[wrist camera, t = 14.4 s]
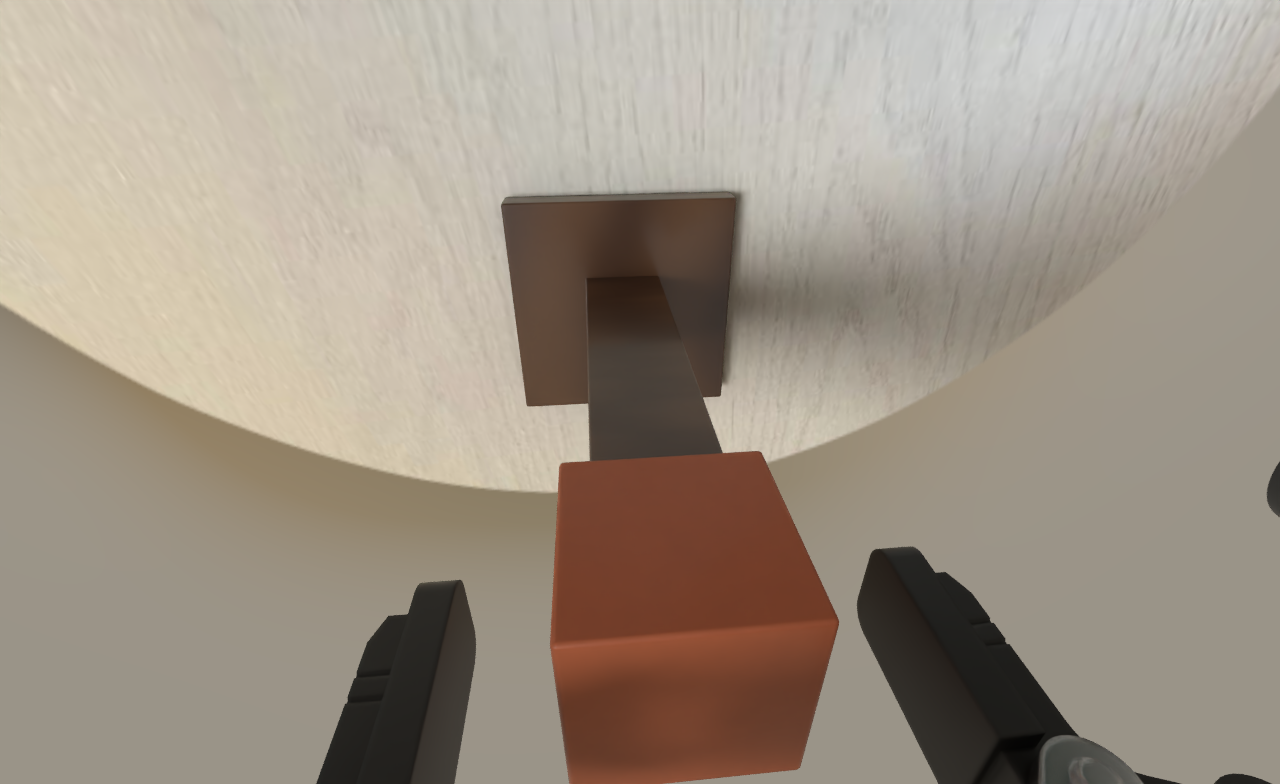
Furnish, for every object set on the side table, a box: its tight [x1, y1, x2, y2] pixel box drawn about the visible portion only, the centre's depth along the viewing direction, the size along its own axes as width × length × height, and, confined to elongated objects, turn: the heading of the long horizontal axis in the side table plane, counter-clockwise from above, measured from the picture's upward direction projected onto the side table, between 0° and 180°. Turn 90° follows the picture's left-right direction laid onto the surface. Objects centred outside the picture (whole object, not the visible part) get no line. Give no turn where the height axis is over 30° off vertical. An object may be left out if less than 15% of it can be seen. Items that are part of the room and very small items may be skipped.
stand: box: [501, 192, 736, 461], centre depth 19 cm, size 9×9×14 cm
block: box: [550, 451, 839, 784], centre depth 11 cm, size 4×4×4 cm
